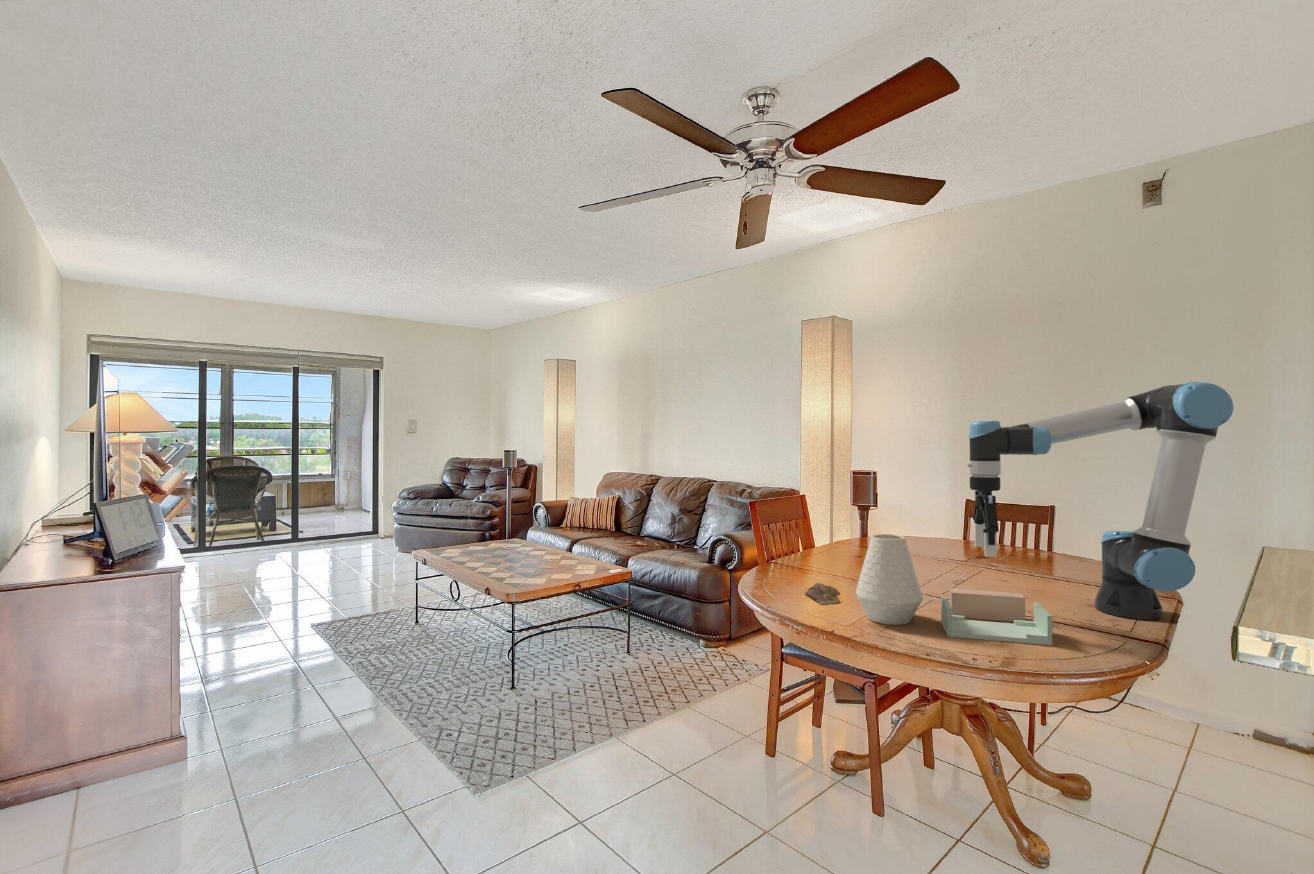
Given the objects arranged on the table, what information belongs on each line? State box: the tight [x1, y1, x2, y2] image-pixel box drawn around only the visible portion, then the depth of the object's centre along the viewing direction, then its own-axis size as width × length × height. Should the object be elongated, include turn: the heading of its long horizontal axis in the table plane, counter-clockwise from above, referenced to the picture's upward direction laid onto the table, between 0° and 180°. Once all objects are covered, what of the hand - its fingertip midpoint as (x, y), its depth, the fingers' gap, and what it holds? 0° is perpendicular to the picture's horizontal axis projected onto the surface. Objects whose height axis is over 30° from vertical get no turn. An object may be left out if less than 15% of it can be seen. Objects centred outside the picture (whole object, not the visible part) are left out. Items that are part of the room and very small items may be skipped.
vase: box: [855, 533, 924, 626], centre depth 164 cm, size 17×17×23 cm
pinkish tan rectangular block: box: [948, 588, 1026, 623], centre depth 165 cm, size 18×4×7 cm, turn 71°
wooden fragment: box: [804, 582, 842, 606], centre depth 190 cm, size 26×11×1 cm, turn 165°
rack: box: [940, 595, 1053, 646], centre depth 152 cm, size 23×12×7 cm, turn 72°
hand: (985, 551), depth 165 cm, fingers open, 13 cm apart
